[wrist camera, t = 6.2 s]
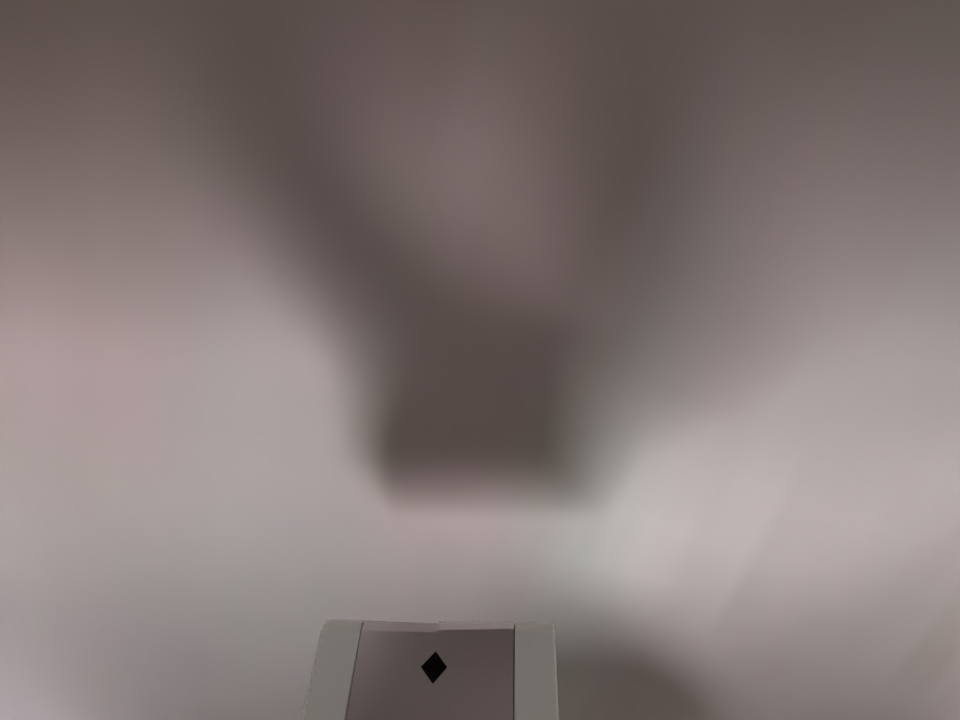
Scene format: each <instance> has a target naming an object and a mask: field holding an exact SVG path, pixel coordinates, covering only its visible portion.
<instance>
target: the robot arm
mask: <svg viewBox="0 0 960 720" xmlns="http://www.w3.org/2000/svg"><path fill="white" fill-rule="evenodd" d="M301 720H559V707H558V686H557V664H556V643H555V629H554V626H553V623H515V624H514V622H439V623H416V622H387V621H363V620H326V622H325V624H324V626H323V628H322V630H321V632H320V637H319V641H318V645H317V650H316V654H315V659H314V663H313V668H312V672H311V677H310V681H309V686H308V690H307V694H306V699H305V703H304V708H303V712H302V717H301Z"/></svg>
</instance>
